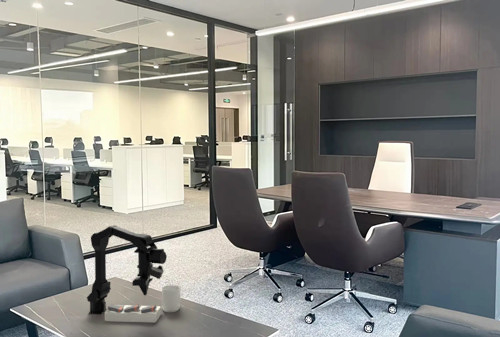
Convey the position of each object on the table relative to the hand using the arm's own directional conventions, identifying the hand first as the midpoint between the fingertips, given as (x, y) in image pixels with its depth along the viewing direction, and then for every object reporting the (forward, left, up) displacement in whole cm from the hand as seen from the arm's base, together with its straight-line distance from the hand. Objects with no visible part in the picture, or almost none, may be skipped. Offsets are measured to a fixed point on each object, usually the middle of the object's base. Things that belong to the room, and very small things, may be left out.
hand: (145, 295), depth 202 cm
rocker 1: (-14, 0, -7) cm, 16 cm away
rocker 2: (-6, 0, -7) cm, 10 cm away
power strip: (-6, +2, -12) cm, 14 cm away
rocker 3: (+2, 0, -7) cm, 7 cm away
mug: (+10, +15, -12) cm, 22 cm away
